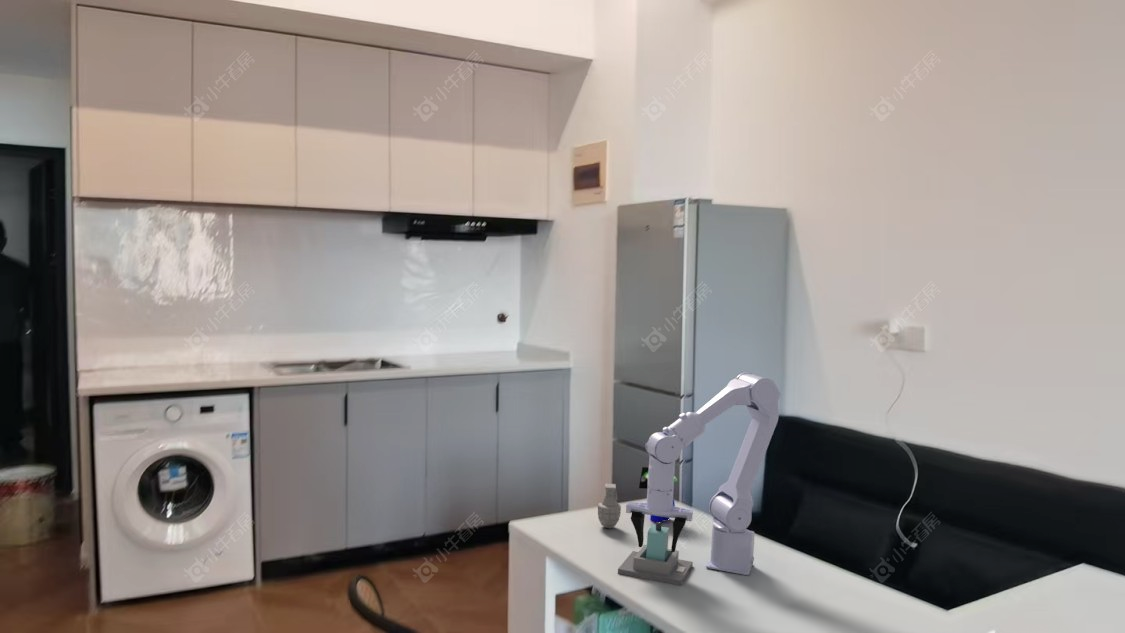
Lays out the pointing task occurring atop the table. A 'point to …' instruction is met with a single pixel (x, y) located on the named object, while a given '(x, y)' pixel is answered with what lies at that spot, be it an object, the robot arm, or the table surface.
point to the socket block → (656, 567)
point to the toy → (644, 485)
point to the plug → (657, 542)
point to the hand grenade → (609, 507)
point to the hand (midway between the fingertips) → (657, 548)
